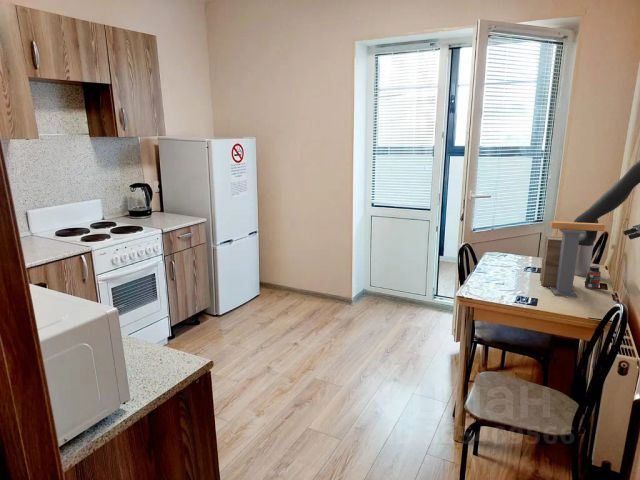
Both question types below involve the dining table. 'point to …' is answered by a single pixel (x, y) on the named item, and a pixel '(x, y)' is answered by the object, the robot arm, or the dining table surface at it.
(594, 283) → the supplement bottle
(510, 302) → the dining table surface
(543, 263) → the tan upright box
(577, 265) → the robot arm
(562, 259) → the tall stand
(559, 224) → the block
